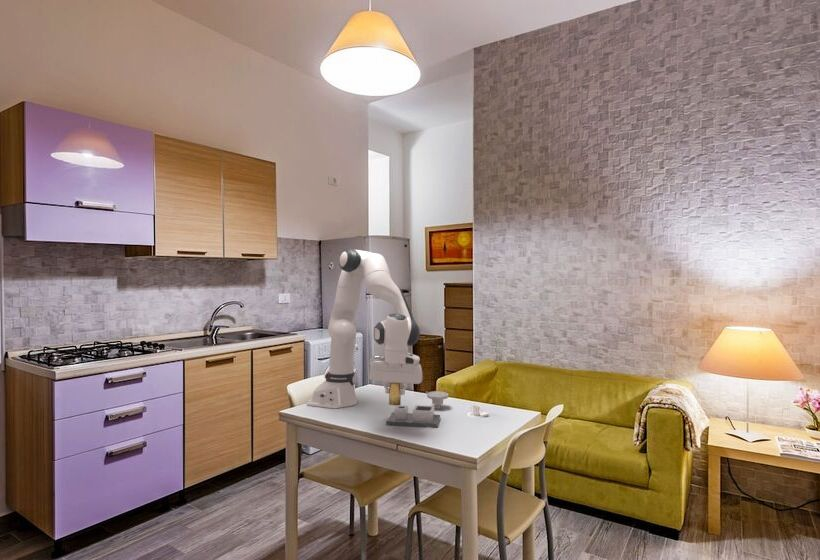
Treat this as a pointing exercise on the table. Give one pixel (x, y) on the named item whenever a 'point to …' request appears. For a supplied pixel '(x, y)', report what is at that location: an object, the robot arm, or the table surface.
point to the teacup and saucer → (477, 412)
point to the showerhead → (437, 397)
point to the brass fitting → (394, 393)
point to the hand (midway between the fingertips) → (395, 393)
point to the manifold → (414, 417)
